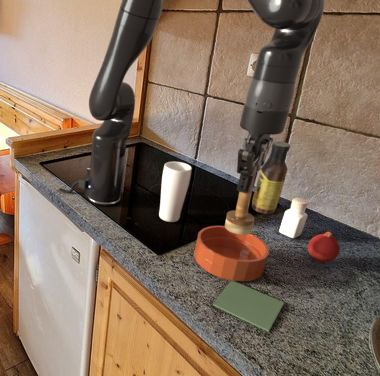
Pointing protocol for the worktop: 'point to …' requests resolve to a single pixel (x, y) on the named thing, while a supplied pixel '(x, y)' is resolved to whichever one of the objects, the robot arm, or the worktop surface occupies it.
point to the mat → (249, 305)
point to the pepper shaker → (294, 218)
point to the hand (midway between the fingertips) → (244, 189)
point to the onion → (323, 248)
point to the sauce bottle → (271, 179)
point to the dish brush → (241, 214)
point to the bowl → (230, 254)
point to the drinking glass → (174, 190)
